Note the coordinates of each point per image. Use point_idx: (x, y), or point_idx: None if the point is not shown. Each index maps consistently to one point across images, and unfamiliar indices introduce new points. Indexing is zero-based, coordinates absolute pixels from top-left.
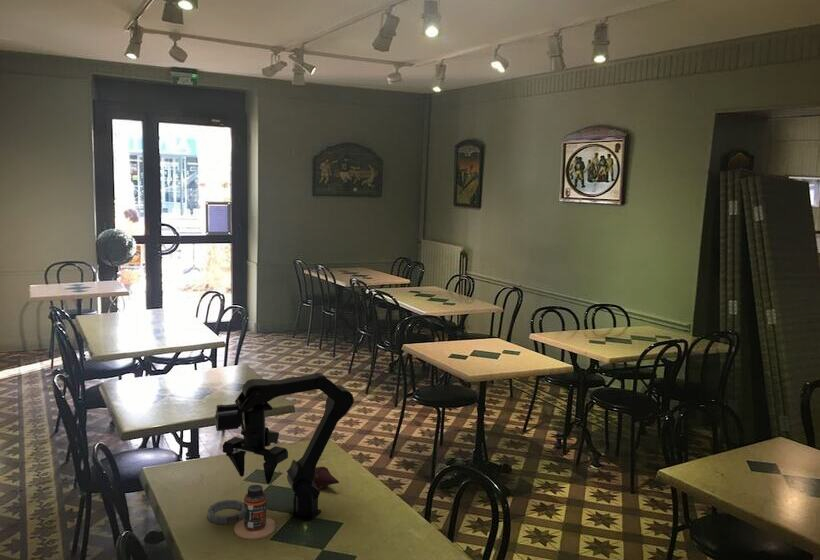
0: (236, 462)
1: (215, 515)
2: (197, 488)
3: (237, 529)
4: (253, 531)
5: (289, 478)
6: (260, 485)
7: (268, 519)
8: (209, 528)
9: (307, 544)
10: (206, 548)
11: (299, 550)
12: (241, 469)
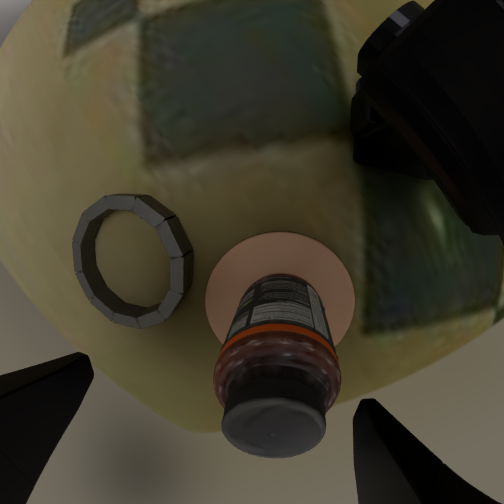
0: (34, 477)
1: (125, 320)
2: (8, 170)
3: None
4: None
5: (428, 138)
6: (289, 404)
7: (299, 245)
8: (150, 344)
9: (466, 308)
10: (219, 417)
11: (453, 340)
12: (60, 408)
